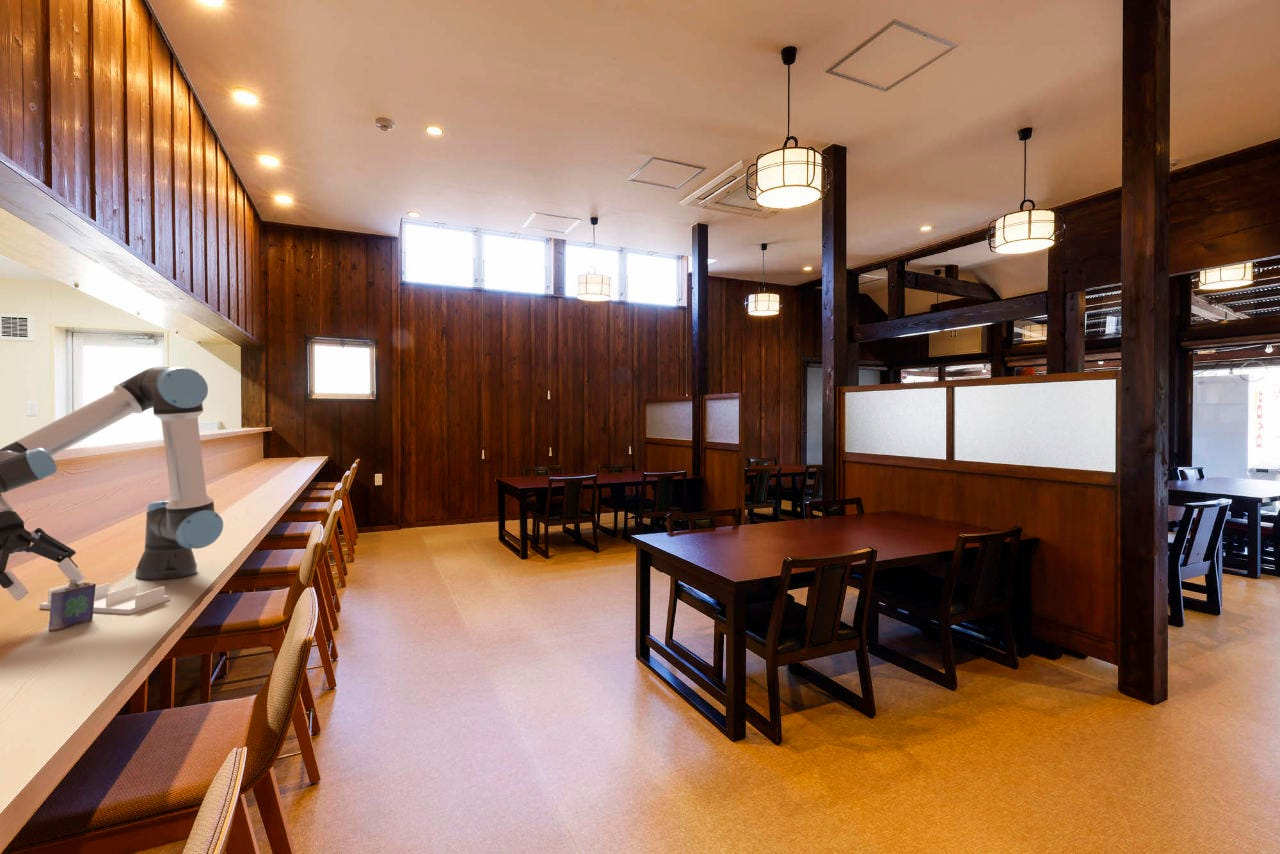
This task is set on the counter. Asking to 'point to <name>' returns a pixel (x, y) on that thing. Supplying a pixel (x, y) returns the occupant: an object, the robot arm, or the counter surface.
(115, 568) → the counter surface
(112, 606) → the rack
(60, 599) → the flask
